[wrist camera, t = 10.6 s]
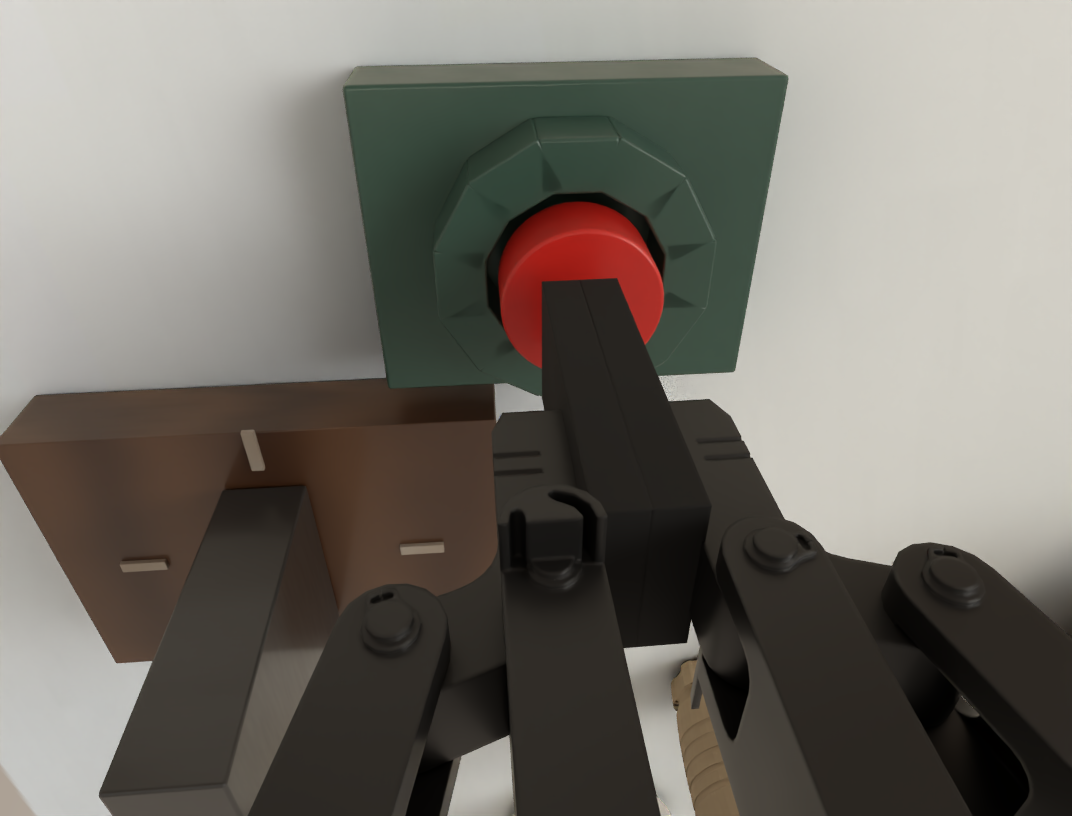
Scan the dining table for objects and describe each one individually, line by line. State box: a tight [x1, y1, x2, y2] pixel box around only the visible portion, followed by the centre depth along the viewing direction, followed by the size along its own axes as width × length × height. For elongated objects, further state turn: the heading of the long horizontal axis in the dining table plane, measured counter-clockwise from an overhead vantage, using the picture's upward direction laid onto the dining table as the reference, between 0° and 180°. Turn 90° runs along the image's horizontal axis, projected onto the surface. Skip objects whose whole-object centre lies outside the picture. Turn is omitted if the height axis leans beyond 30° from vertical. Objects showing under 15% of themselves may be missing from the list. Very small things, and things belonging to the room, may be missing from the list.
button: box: [498, 202, 664, 369], centre depth 16 cm, size 4×4×2 cm
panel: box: [0, 379, 498, 663], centre depth 24 cm, size 14×10×3 cm
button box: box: [343, 58, 788, 396], centre depth 18 cm, size 10×8×4 cm
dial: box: [99, 486, 339, 816], centre depth 20 cm, size 6×2×9 cm, turn 0°
